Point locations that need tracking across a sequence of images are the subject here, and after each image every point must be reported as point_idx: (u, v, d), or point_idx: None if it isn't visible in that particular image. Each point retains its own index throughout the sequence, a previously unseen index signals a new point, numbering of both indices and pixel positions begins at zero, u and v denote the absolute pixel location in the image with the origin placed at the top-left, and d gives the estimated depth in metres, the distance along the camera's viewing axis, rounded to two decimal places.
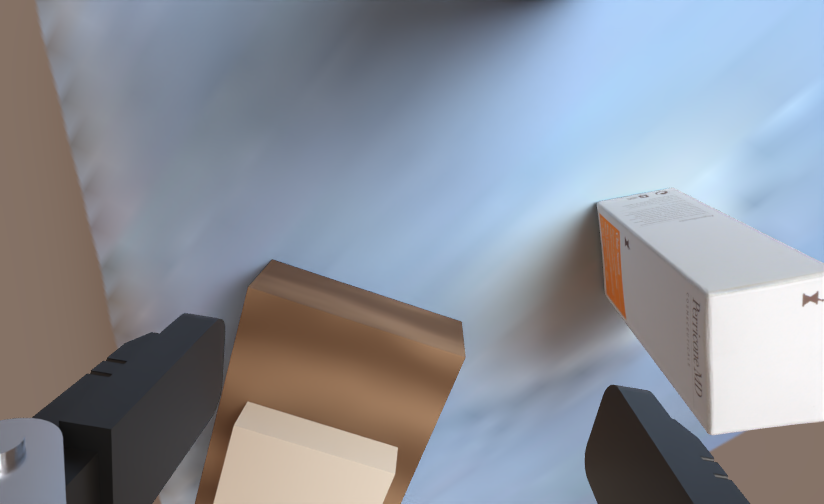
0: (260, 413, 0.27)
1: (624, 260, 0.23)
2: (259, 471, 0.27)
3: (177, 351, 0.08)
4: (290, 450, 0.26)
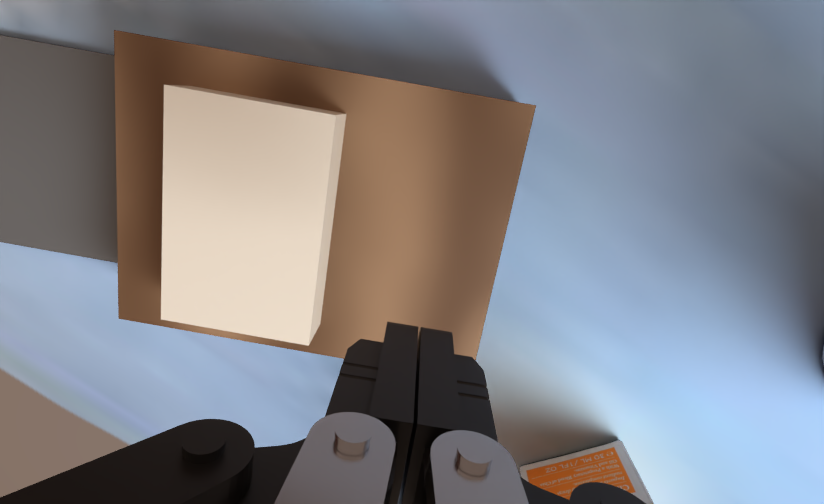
0: (340, 140, 0.18)
1: None
2: (258, 159, 0.17)
3: (409, 356, 0.09)
4: (310, 204, 0.18)
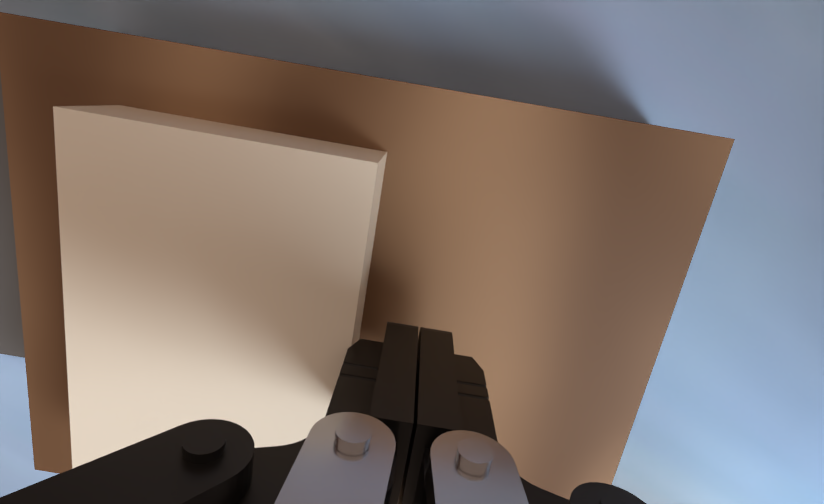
0: (377, 199, 0.11)
1: None
2: (233, 240, 0.10)
3: (409, 356, 0.09)
4: (328, 317, 0.10)
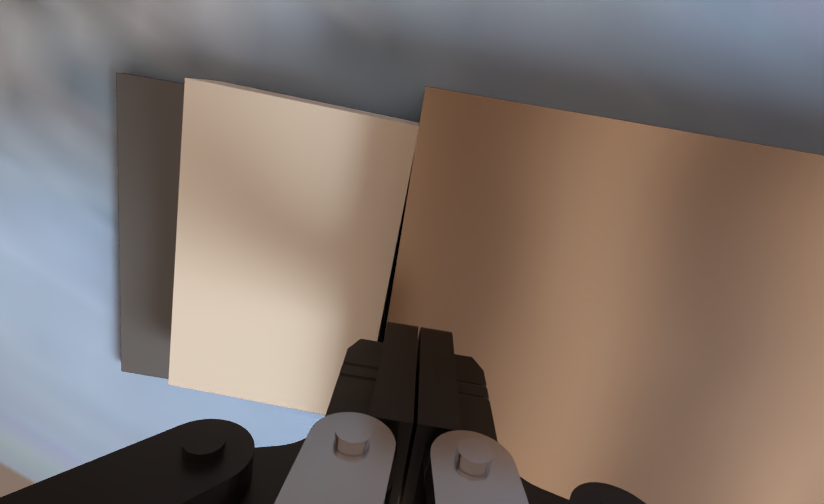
0: None
1: None
2: (308, 182, 0.13)
3: (409, 356, 0.09)
4: (375, 243, 0.13)
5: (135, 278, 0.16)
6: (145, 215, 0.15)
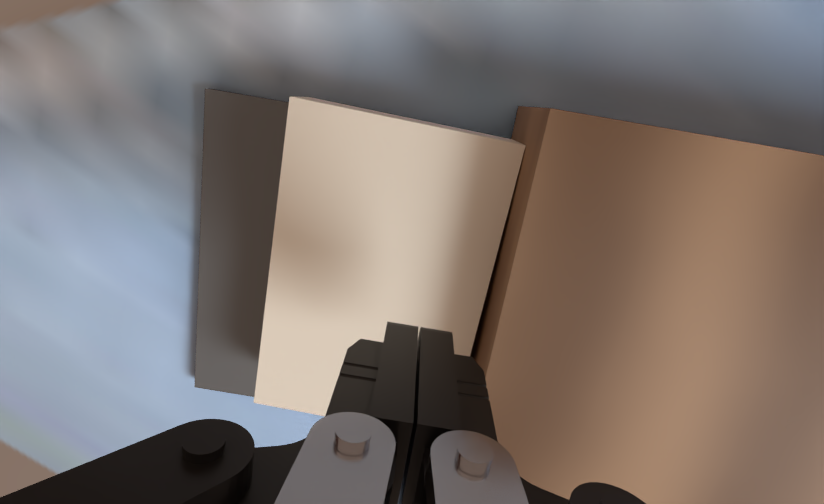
0: None
1: None
2: (409, 201, 0.13)
3: (409, 356, 0.09)
4: (473, 261, 0.13)
5: (213, 294, 0.16)
6: (227, 231, 0.15)
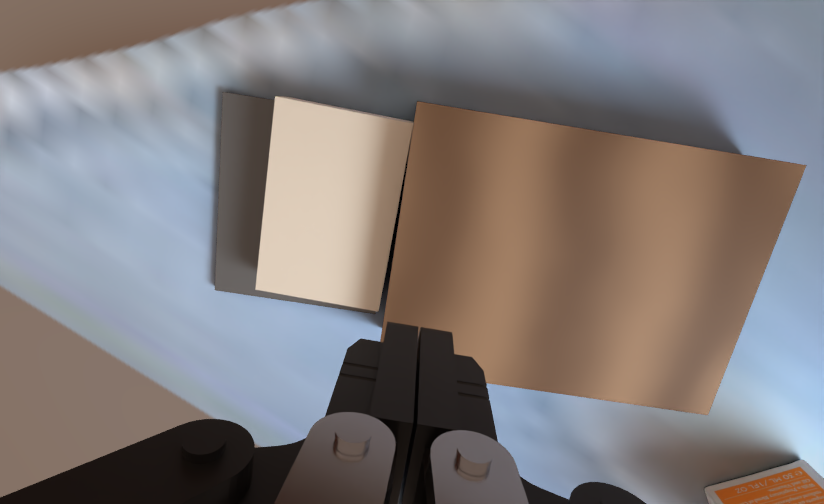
0: None
1: None
2: (347, 157, 0.21)
3: (409, 356, 0.09)
4: (387, 194, 0.22)
5: (227, 225, 0.25)
6: (236, 183, 0.24)
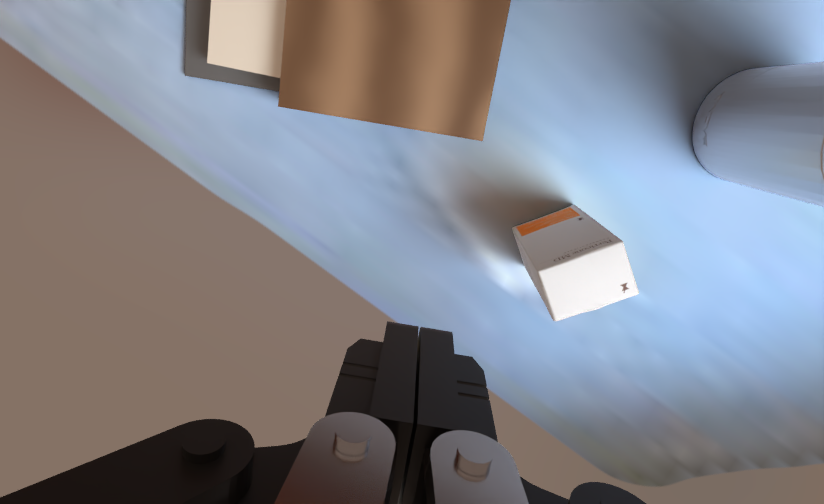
0: None
1: (566, 221, 0.39)
2: None
3: (409, 356, 0.09)
4: None
5: (192, 29, 0.40)
6: (197, 0, 0.39)
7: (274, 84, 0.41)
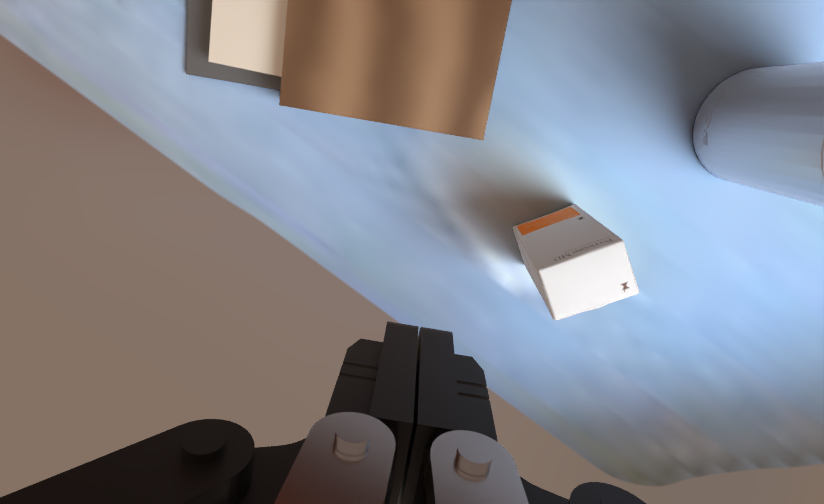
0: None
1: (567, 221, 0.39)
2: None
3: (409, 356, 0.09)
4: None
5: (193, 28, 0.40)
6: None
7: (275, 83, 0.41)
